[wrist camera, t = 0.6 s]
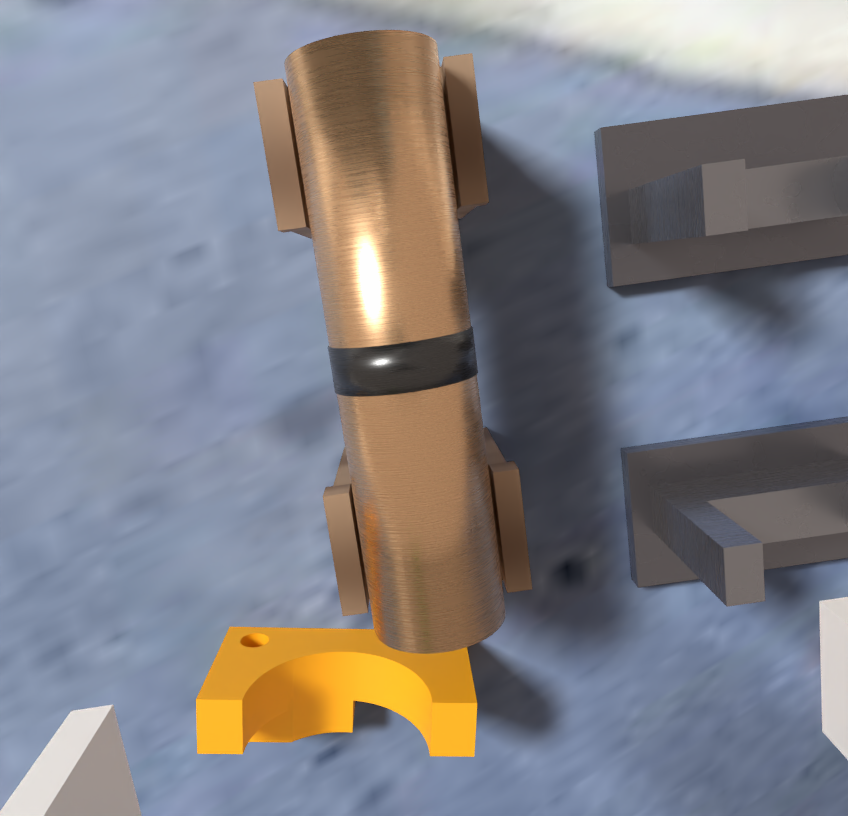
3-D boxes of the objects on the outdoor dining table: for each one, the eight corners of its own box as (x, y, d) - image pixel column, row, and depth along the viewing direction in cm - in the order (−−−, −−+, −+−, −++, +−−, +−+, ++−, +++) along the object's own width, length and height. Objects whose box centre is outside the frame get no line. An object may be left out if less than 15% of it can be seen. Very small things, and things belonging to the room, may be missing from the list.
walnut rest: (286, 126, 32) (253, 82, 25) (454, 103, 32) (472, 53, 25) (354, 543, 36) (342, 615, 29) (503, 522, 36) (532, 589, 29)
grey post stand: (594, 132, 33) (667, 81, 24) (853, 97, 33) (1019, 34, 24) (631, 579, 37) (705, 675, 28) (860, 546, 37) (1005, 632, 28)
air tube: (294, 86, 26) (270, 43, 21) (434, 68, 26) (443, 19, 21) (374, 597, 30) (370, 663, 25) (496, 580, 30) (517, 642, 25)
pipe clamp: (231, 701, 38) (198, 789, 31) (230, 625, 37) (196, 699, 31) (459, 704, 38) (472, 791, 32) (463, 629, 38) (477, 703, 31)
